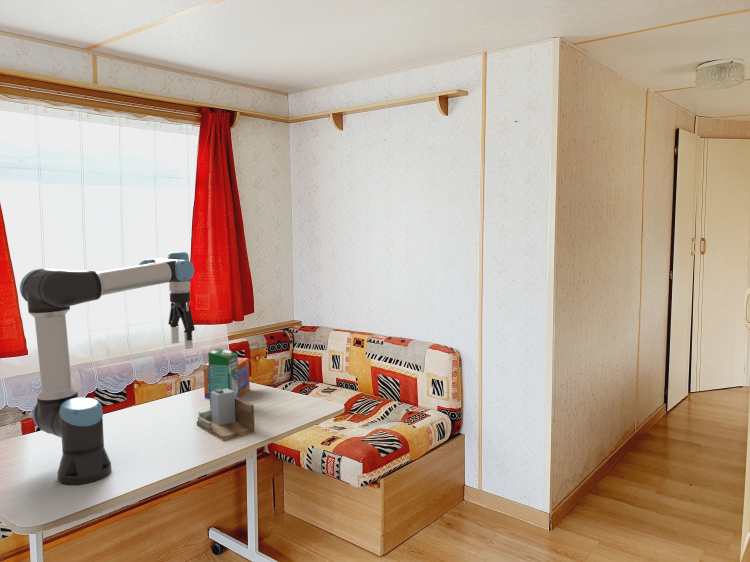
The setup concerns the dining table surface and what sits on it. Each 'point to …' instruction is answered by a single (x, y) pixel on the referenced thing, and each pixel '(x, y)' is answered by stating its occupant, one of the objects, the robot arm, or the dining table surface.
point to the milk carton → (223, 371)
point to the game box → (242, 377)
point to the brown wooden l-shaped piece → (230, 430)
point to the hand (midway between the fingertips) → (181, 345)
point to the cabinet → (223, 406)
